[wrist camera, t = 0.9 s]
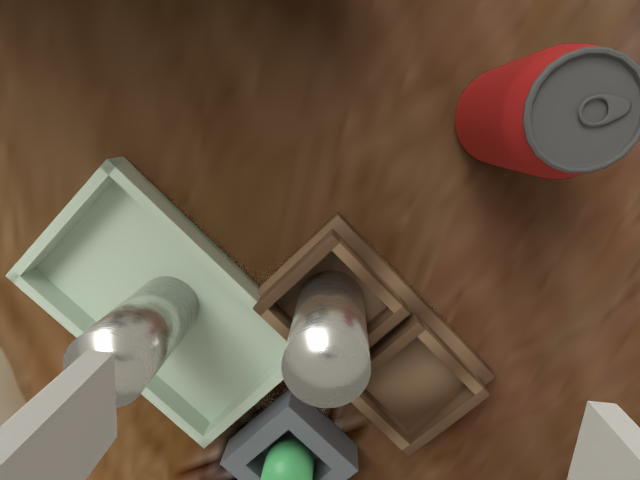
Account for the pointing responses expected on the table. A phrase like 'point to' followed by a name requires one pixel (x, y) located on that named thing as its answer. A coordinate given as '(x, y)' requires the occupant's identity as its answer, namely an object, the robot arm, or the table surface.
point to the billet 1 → (140, 333)
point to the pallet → (387, 339)
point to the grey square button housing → (291, 422)
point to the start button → (288, 461)
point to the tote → (139, 268)
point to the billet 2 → (328, 342)
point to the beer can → (553, 111)
